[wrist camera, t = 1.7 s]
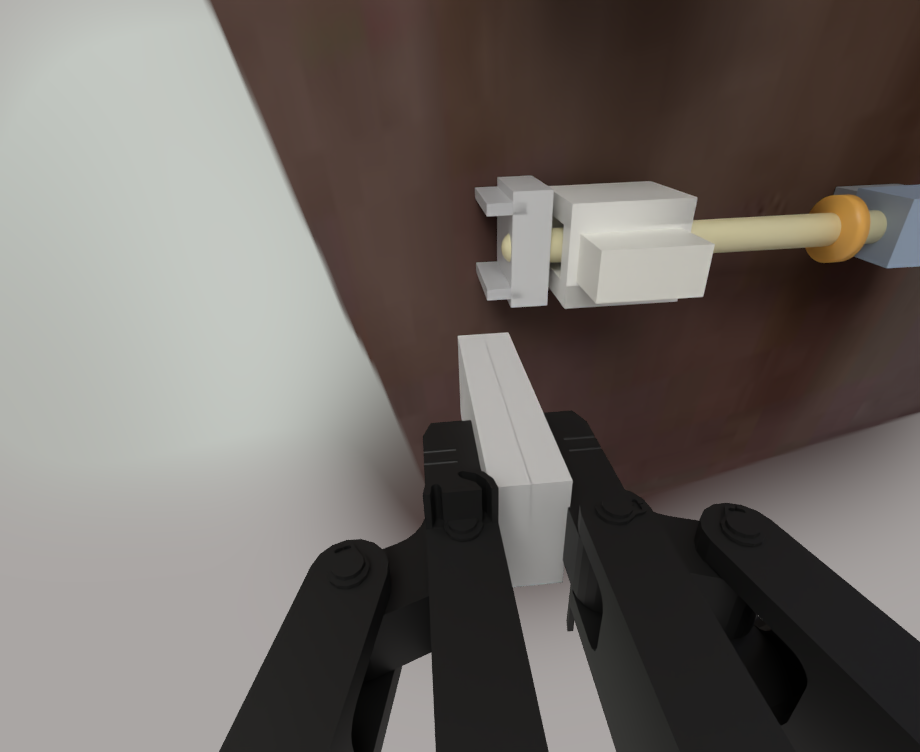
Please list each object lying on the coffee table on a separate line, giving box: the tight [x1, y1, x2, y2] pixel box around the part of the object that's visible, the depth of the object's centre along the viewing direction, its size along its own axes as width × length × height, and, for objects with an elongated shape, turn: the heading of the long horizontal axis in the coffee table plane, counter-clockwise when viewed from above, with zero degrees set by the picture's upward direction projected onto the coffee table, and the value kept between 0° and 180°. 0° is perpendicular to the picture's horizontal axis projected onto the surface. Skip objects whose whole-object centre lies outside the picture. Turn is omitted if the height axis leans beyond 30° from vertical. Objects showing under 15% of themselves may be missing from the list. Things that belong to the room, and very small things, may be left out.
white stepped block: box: [548, 181, 715, 309], centre depth 25 cm, size 5×6×8 cm
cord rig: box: [475, 176, 920, 308], centre depth 28 cm, size 6×27×6 cm, turn 92°
